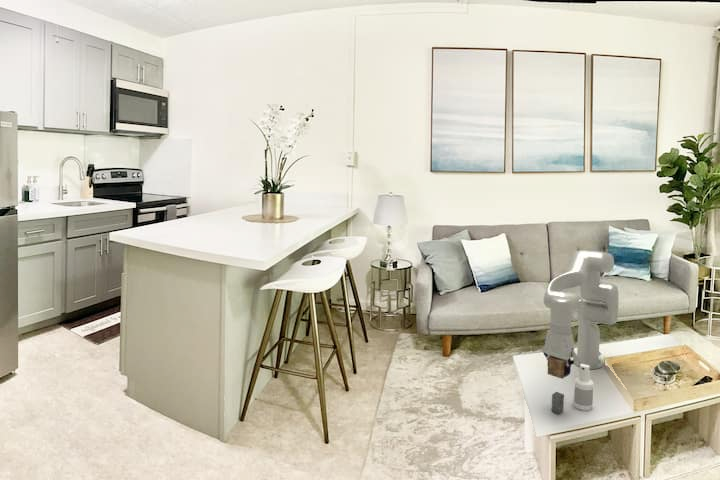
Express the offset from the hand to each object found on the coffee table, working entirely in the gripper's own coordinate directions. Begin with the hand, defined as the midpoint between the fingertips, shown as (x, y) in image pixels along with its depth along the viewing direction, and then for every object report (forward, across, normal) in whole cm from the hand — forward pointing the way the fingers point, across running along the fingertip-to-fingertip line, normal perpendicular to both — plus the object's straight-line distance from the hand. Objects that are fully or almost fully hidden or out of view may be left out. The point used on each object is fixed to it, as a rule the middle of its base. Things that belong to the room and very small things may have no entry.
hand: (558, 371), depth 186 cm
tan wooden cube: (+1, 0, 0) cm, 1 cm away
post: (+17, 0, 0) cm, 17 cm away
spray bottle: (+17, +5, +12) cm, 21 cm away
